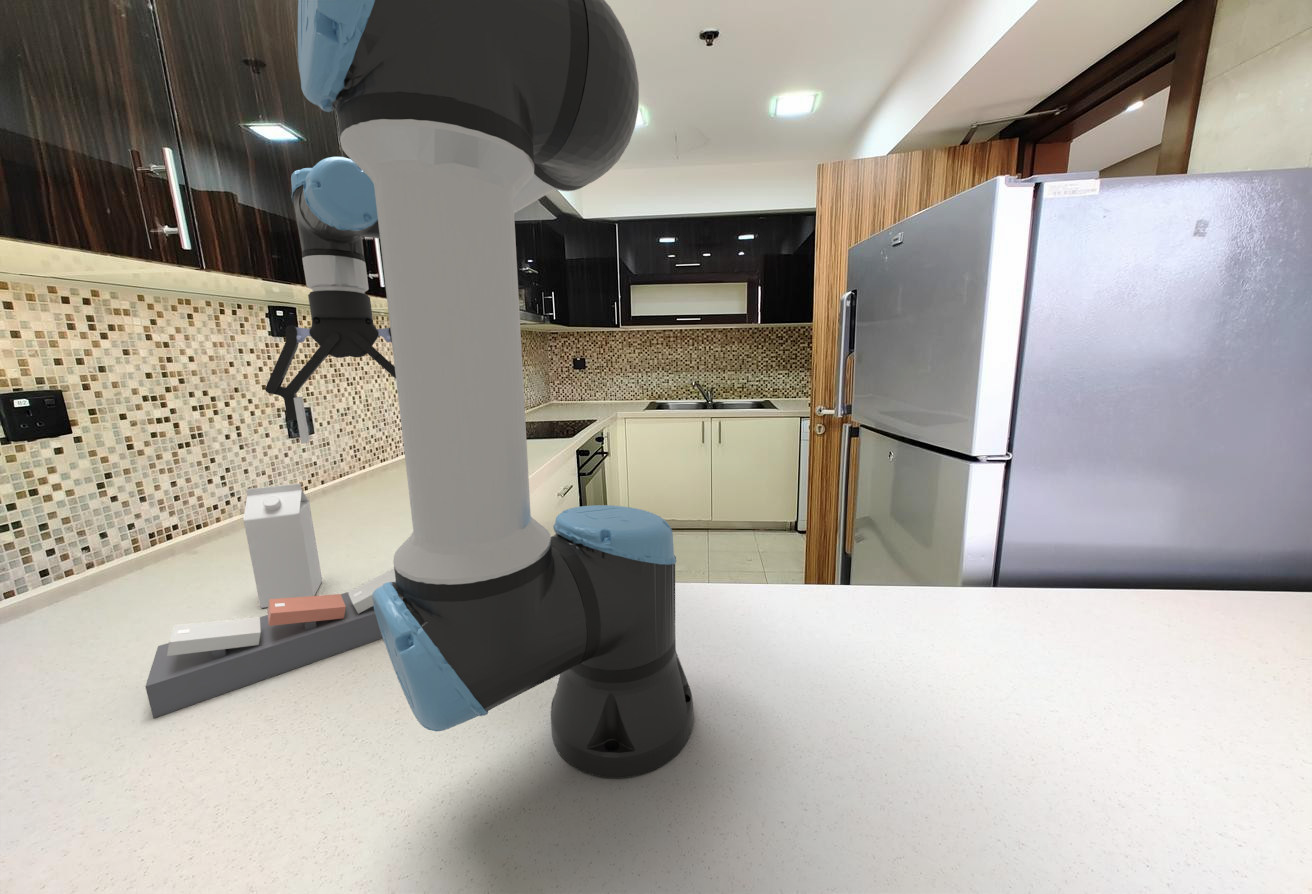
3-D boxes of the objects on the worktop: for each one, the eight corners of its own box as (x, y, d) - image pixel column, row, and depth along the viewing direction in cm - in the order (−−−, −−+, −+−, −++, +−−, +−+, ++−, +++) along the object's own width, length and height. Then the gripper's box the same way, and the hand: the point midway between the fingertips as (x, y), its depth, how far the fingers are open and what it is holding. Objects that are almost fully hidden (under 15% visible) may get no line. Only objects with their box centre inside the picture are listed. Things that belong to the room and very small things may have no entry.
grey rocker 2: (416, 582, 70) (412, 572, 70) (358, 613, 66) (352, 604, 65) (408, 571, 74) (404, 562, 73) (352, 600, 69) (347, 591, 69)
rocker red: (343, 618, 65) (345, 606, 65) (268, 625, 59) (270, 612, 59) (338, 604, 68) (340, 593, 68) (267, 611, 63) (269, 598, 63)
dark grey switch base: (477, 605, 76) (474, 575, 75) (153, 718, 53) (143, 678, 52) (456, 583, 83) (453, 556, 82) (165, 674, 60) (156, 638, 59)
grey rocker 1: (258, 644, 59) (260, 631, 59) (166, 656, 54) (169, 641, 54) (257, 628, 63) (259, 616, 62) (171, 637, 57) (174, 624, 57)
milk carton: (273, 590, 82) (253, 484, 79) (322, 581, 85) (305, 478, 81) (260, 609, 76) (238, 495, 72) (314, 599, 79) (295, 488, 75)
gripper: (431, 298, 78) (445, 426, 82) (233, 291, 66) (261, 442, 69) (436, 292, 72) (451, 431, 75) (218, 283, 59) (249, 450, 63)
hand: (360, 437), depth 72 cm, fingers open, 13 cm apart
